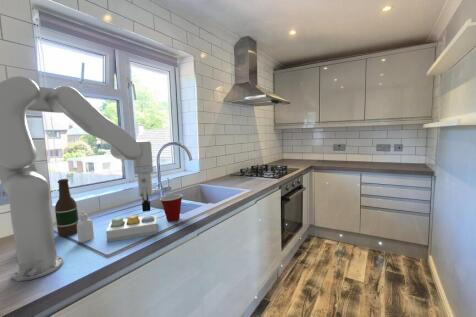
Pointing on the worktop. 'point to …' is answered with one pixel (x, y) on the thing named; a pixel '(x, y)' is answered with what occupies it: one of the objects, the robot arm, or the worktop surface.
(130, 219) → the button amber
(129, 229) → the white slotted frame
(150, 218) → the button slate
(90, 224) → the eye dropper bottle
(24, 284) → the worktop surface
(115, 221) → the button sage
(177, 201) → the plastic cup
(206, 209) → the worktop surface
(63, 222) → the beer bottle
